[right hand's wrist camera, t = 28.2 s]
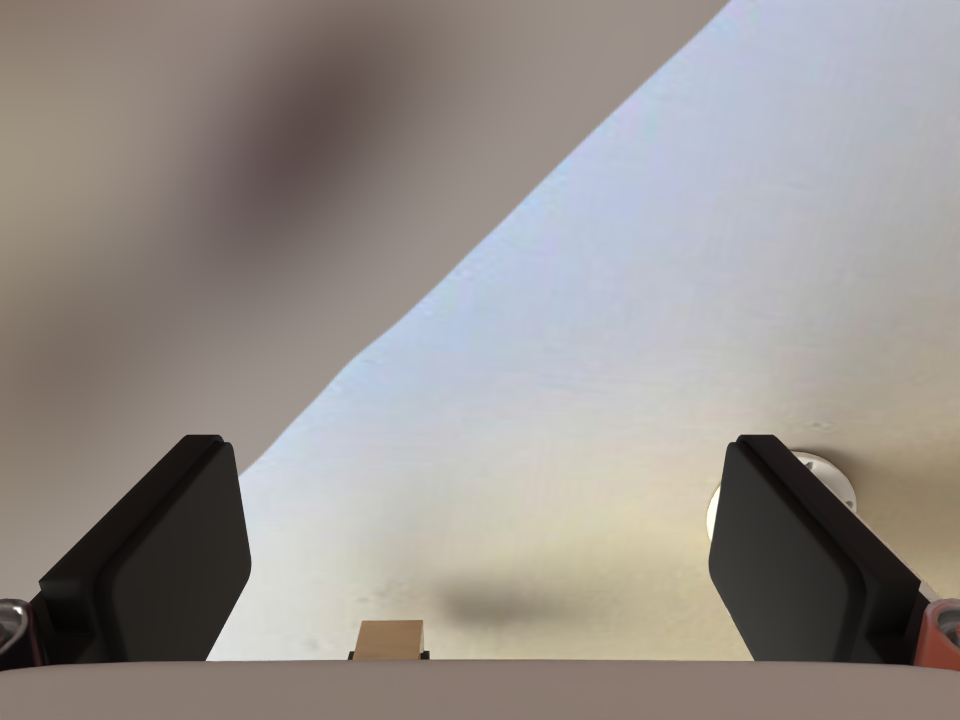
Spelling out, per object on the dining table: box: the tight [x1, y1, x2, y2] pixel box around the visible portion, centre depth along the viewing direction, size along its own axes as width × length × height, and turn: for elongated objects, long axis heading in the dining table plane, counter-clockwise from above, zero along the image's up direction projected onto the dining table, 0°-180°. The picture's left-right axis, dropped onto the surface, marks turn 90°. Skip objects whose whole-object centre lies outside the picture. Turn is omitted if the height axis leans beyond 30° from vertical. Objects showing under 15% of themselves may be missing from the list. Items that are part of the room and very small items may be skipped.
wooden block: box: [353, 620, 424, 660], centre depth 49 cm, size 5×5×7 cm
